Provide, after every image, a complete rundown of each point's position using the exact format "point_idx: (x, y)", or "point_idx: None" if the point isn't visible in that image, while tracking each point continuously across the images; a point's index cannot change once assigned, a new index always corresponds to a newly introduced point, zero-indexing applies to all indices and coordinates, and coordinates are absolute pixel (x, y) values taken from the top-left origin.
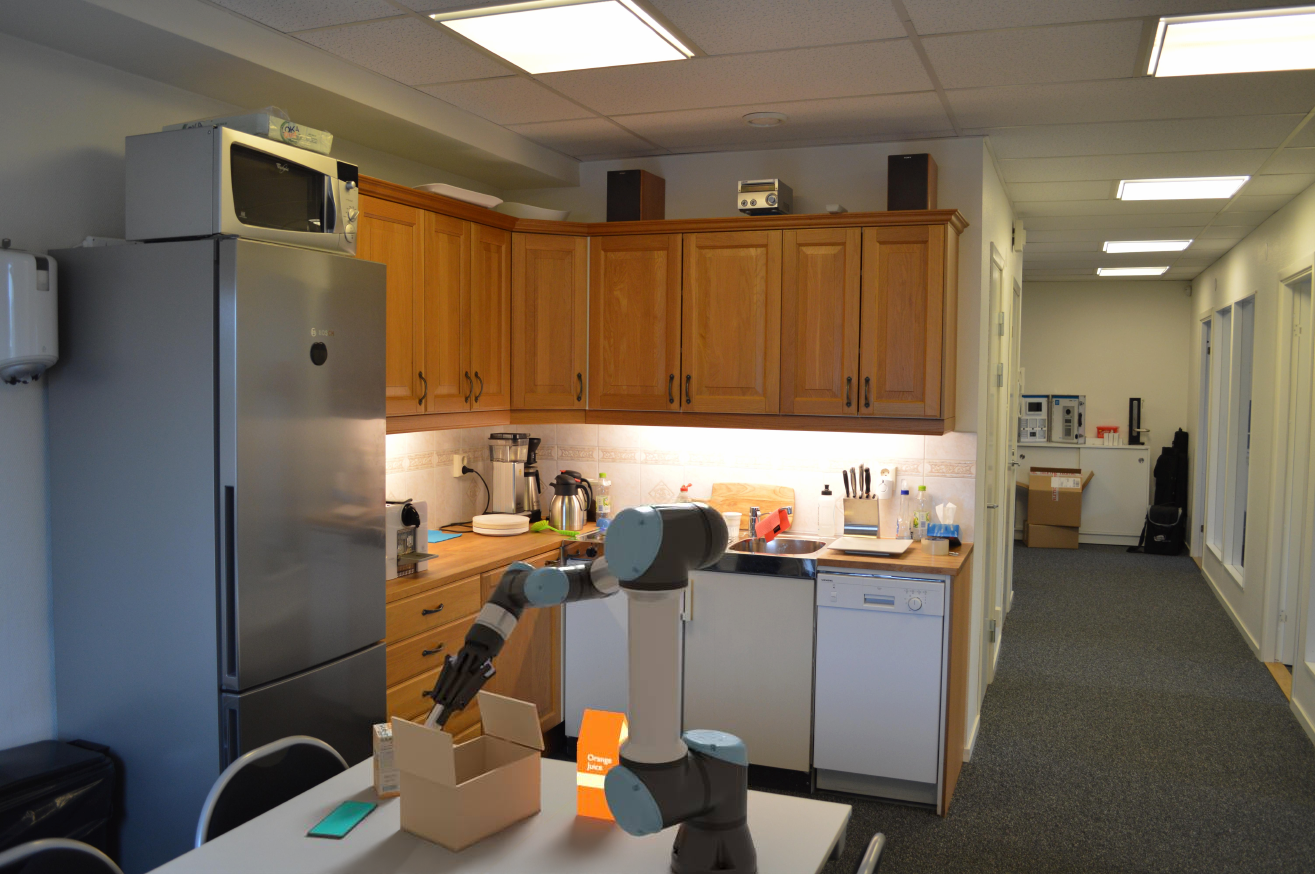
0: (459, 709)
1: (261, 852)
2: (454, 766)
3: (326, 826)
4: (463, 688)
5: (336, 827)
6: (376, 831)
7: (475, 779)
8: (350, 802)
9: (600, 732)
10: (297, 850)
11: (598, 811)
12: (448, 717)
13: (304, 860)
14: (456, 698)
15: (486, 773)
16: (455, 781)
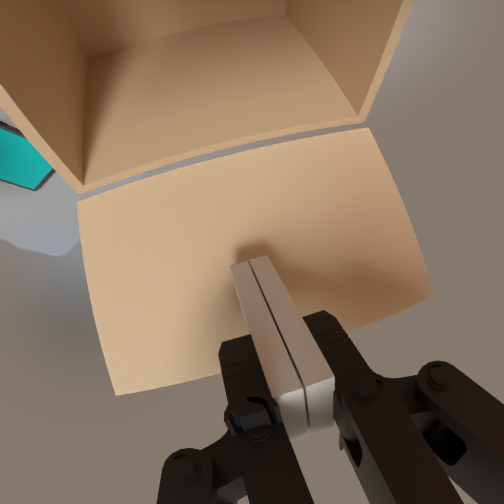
0: (428, 374)
1: (67, 219)
2: (396, 187)
3: (20, 172)
4: (466, 490)
5: (29, 161)
6: None
7: (389, 63)
8: None
9: None
10: (81, 194)
11: None
12: (352, 347)
13: None
14: (426, 441)
15: (401, 11)
16: (376, 144)
